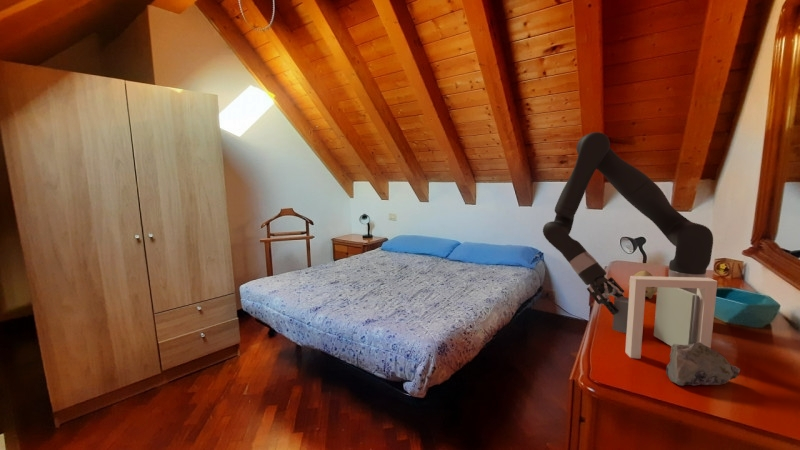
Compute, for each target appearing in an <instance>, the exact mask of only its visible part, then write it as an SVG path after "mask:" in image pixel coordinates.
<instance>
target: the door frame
mask: <svg viewBox="0 0 800 450" xmlns="http://www.w3.org/2000/svg"><path fill="white" fill-rule="evenodd" d="M629 281H630V288H629V287H628V288H629V291H628V298H629V303H628V318H627V334H625V335H626V336H625V349H624V350H625V351H624V352H625V354H626V355H627V356H628V357H629V358H630V359H641V357H642V344H643V331H644V330H643V329H644V328H643V327H644V316H645V303H646V302H645V301H646V297H645V291H646V287H668V288H697V296H699V303H698V313H697V324H696V335H695V343H697V342H700V343H702V344H703V345H705V346H707V347H709V348H710V349H712V340H713V339H712V338H713V329H714V328H713V327H714V317H715V308H716V299H717V288H718V280H715V279H713V278H711V277H705V278H700V277H668V276H654V275H653V276H634V275H630V277H629Z"/></svg>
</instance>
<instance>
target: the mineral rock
mask: <svg viewBox="0 0 800 450" xmlns="http://www.w3.org/2000/svg"><path fill="white" fill-rule="evenodd" d="M670 347H671V346H670ZM669 357H670V359H669V360H670V361H669V363H668V364H666V369H665V373H666V376H667V377H668V379H669V380H670V381H671V382H672V383H674V384H677V385H678V386H683V387H684V386H685V385H686V386H690V385H691V386H699V385H702V386H709V385H713V386H714V385H717V386H721V385H724V384H727V383H728V382H729V381H731V380H733V379H736V378H737V377H739V376H740V375H739V373H740V371H741V369H740V368H739V367H738V366H735V365H733V364H731V363H730V362H729V360H727V359H726V357H725V356H723V355H722V354H720V352H718V351H717V350H715V349H714V348H713V349H712V348H711V349H710V348H709V347H707V346H705V345H703V344H702V343H700V342H697V343H694V344H688V345H679V344H673V345H672V347H671V348H670V354H669Z"/></svg>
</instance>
